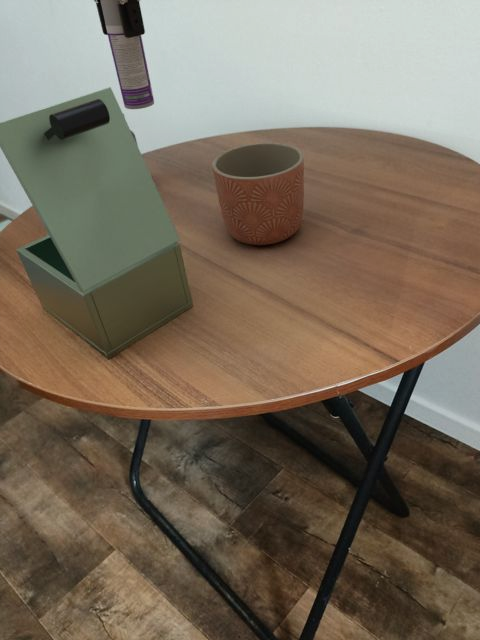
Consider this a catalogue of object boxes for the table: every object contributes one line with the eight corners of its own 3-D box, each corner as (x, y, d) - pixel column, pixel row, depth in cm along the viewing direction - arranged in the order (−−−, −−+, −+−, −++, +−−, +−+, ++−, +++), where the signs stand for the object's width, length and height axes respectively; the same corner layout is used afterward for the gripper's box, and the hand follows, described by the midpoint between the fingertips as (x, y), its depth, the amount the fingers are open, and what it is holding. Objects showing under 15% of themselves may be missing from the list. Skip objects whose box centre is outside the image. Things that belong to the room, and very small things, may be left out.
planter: (293, 257, 71) (288, 180, 64) (210, 249, 75) (197, 175, 68) (315, 214, 80) (313, 143, 73) (240, 209, 83) (231, 140, 76)
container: (131, 100, 84) (106, -12, 74) (158, 100, 83) (136, -14, 73) (119, 109, 80) (91, -7, 71) (148, 109, 79) (123, -9, 70)
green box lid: (-12, 127, 46) (2, 109, 42) (107, 89, 53) (130, 70, 48) (80, 292, 53) (101, 291, 48) (177, 240, 59) (203, 236, 55)
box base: (43, 308, 67) (15, 249, 62) (123, 265, 74) (105, 208, 68) (108, 359, 58) (83, 295, 53) (193, 306, 65) (179, 243, 59)
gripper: (153, -147, 61) (180, 33, 73) (78, -131, 70) (113, 25, 82) (98, -145, 57) (136, 45, 69) (26, -129, 66) (71, 35, 78)
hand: (123, 32), depth 75 cm, fingers closed on container, 4 cm apart
